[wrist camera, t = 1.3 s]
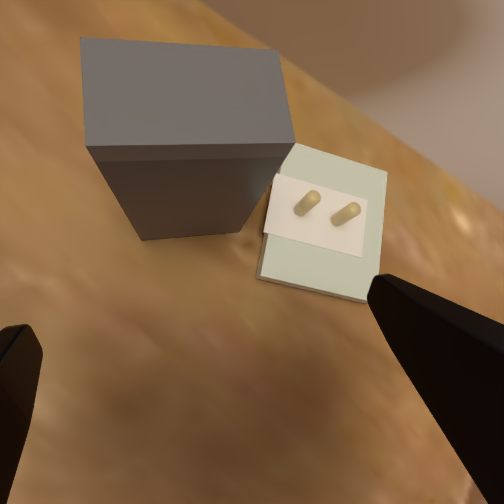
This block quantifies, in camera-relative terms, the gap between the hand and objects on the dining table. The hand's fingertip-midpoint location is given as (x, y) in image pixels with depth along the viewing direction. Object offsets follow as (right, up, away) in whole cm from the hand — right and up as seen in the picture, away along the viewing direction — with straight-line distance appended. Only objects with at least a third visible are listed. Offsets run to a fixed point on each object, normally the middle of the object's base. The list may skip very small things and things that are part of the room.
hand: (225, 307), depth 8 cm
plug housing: (-4, +5, +14) cm, 15 cm away
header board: (+6, +4, +16) cm, 18 cm away
